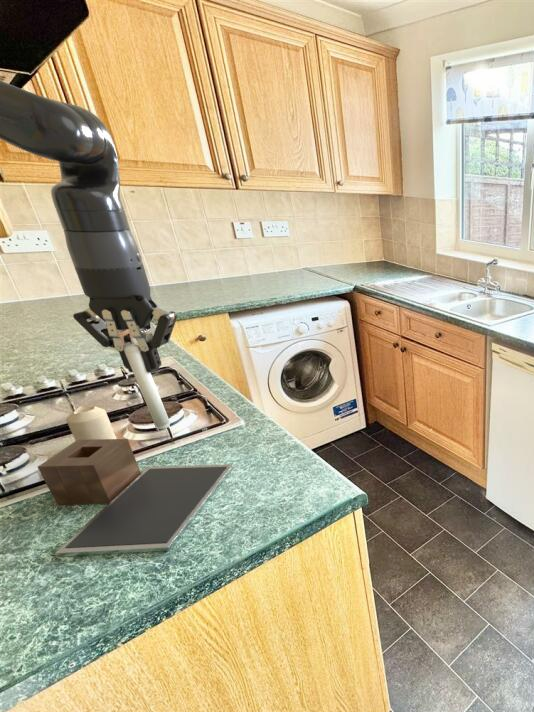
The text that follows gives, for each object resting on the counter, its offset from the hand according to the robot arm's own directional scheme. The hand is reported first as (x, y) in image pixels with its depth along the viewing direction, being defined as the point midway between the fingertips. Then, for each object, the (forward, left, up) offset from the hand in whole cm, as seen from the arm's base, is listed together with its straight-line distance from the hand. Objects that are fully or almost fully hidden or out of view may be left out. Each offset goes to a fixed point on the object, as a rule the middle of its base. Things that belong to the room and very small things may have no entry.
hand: (145, 370), depth 68 cm
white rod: (0, 0, -11) cm, 11 cm away
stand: (-12, -2, -22) cm, 25 cm away
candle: (-20, +10, -23) cm, 32 cm away
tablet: (0, -7, -22) cm, 23 cm away
